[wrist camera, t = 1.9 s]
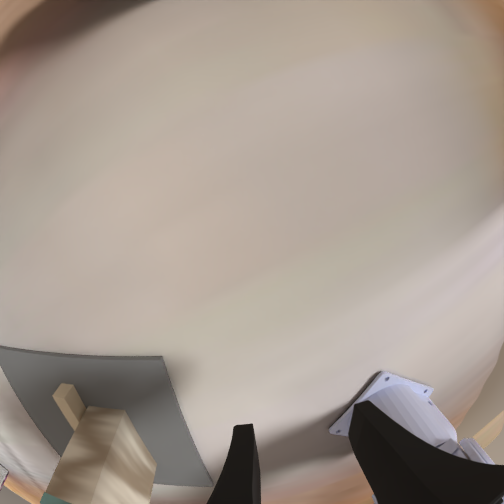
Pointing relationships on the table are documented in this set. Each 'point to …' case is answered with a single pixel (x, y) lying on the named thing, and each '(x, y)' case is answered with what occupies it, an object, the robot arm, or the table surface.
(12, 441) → the table surface
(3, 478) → the candy bar box
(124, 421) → the ash slab
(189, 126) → the table surface
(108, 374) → the rubber mat
